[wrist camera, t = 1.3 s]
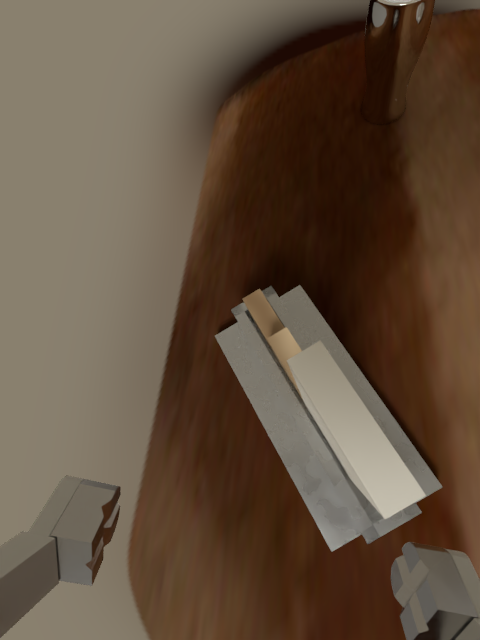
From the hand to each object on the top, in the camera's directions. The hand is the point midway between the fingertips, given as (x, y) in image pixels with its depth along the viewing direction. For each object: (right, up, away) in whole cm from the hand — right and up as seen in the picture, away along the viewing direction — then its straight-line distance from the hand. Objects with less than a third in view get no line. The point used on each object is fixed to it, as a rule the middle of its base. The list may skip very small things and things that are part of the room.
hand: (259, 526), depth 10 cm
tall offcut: (+6, -1, +29) cm, 30 cm away
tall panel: (+9, -6, +27) cm, 29 cm away
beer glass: (+20, +36, +41) cm, 58 cm away
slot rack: (+8, -3, +30) cm, 31 cm away
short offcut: (+3, +4, +32) cm, 32 cm away
